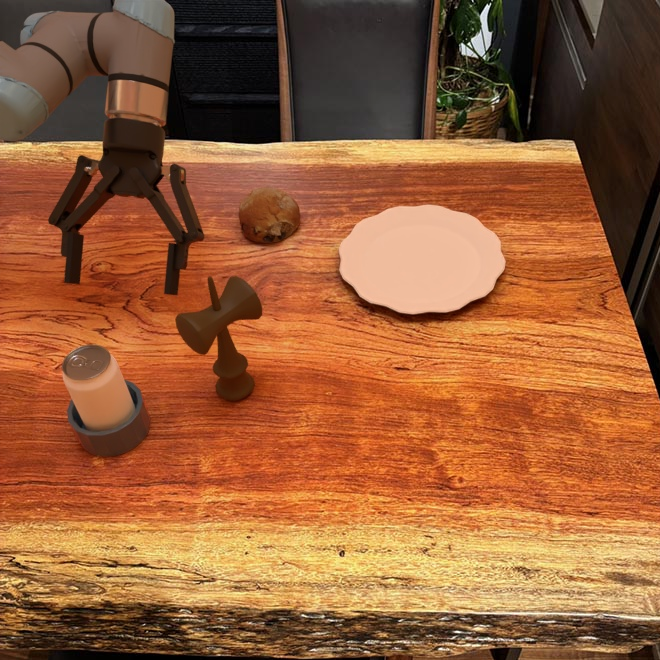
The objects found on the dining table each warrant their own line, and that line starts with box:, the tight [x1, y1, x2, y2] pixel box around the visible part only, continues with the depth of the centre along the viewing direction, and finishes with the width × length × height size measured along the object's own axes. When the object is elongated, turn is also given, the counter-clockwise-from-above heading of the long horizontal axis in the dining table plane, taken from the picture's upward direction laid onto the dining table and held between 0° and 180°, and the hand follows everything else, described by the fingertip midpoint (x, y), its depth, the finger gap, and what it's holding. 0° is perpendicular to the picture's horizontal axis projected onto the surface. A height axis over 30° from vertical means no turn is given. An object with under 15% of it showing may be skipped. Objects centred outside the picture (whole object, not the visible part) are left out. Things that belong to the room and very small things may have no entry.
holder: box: [66, 379, 151, 458], centre depth 102 cm, size 9×9×4 cm
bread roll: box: [238, 186, 301, 244], centre depth 129 cm, size 10×10×8 cm
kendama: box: [174, 275, 263, 402], centre depth 100 cm, size 6×10×20 cm, turn 138°
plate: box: [337, 204, 507, 316], centre depth 122 cm, size 25×25×2 cm
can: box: [61, 343, 136, 432], centre depth 99 cm, size 6×6×12 cm
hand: (121, 289), depth 104 cm, fingers open, 13 cm apart
